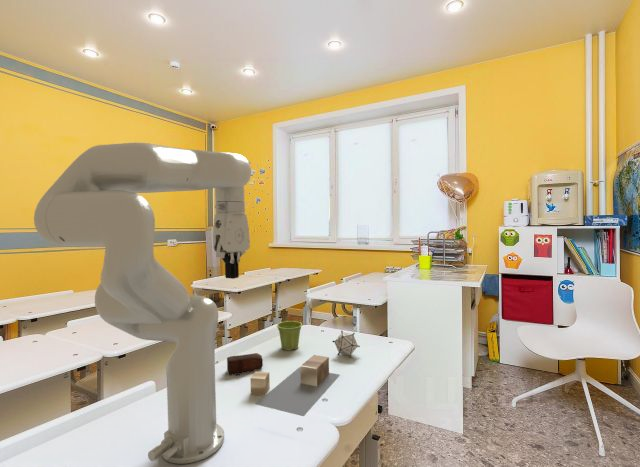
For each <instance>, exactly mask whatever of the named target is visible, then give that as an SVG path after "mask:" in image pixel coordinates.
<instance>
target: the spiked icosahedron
mask: <svg viewBox="0 0 640 467" xmlns="http://www.w3.org/2000/svg"><path fill="white" fill-rule="evenodd" d="M355 334H356V333H355V332H353V333H347V332H344V331H343V330H341V333H340V334H339V336H338V337H337V338H336V339H335V340H332V343H334V345H335V347H336V350H337V351H338V353H337V356H339V355H340V354H341V355H344V356H349V358H352V354H354V352H355V351H356V349H357V348H360V347H361V346H360V345H358V343H357V340H356V337H355V336H354V335H355Z"/></svg>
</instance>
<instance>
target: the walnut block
mask: <svg viewBox="0 0 640 467" xmlns="http://www.w3.org/2000/svg"><path fill="white" fill-rule="evenodd" d="M300 371H301V383H302V384H307V385H312V386H317V385H318V384H319V383H320V382H321V381H322V380H323V379H324V378H325V377H326V376H327V375H328V374H329V373H330V357H328V356H323V355H317V354H313V355H312V356H311V357H309V358H308V359H307V360H305V361H304V362H303V363H302V364H301V365H300Z"/></svg>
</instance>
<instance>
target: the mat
mask: <svg viewBox="0 0 640 467" xmlns="http://www.w3.org/2000/svg"><path fill="white" fill-rule="evenodd" d="M340 376H341V374H339V373H334V372H333V373H332V372H329V374H328V375H327V376H326V377H325V378H324V379H323V380H322V381H321V382H320V383H319V384H318V385H317V386H312V385H307V384H302V383H301V371H300V367H298V368H297V369H295V370H294V371H293V372H291V374H289V375H288V376H287V377H285V379H283V380H282V381H281V382H280V383H279V384H278V385H276V386H275V387H273V388H272V389H271V390H269V391H268V392H267V393H266V395H265V396H263V397H262V398H260V399H259V400H258V401H257V402H256V403H255V405H257V406H261V407H266V408H270V409H273V410H274V409H275V410H278V411H283V412H286V413H290V414H294V415H298V416H302V417H304V416H306V414H307V413H308V412H309V411H310V410H311V409H312V408H313V407H314V405H315V404H316V403H317V402H318V401H319V400H320V399H321V398H322V396H323V395H324V394H325V393H326V392H327V390H328V389H329V388H330V387H331V386H332V385H333V384H334V383H335V381H336V380H337V379H338V378H339V377H340Z"/></svg>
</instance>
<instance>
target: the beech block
mask: <svg viewBox="0 0 640 467" xmlns="http://www.w3.org/2000/svg"><path fill="white" fill-rule="evenodd" d="M249 380H250V395H251V396H252V395H253V396H263V397H264V396H265V395H266V394H268V393H269V391H270V389H271V386H270V371H268V372H267V371H254V373H253V374H252V375H251V377H250V379H249Z"/></svg>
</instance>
